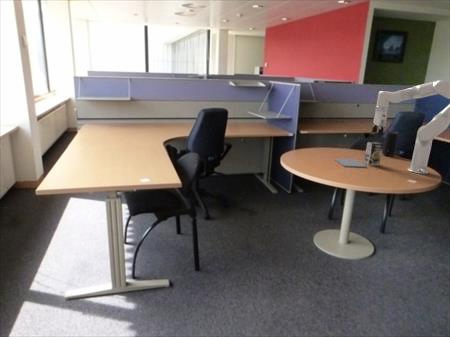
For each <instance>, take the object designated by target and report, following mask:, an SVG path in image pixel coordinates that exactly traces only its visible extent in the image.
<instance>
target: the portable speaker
mask: <svg viewBox="0 0 450 337" xmlns="http://www.w3.org/2000/svg"><path fill="white" fill-rule="evenodd" d="M398 135H399V132H398V131H395V132H394V131H389V130H388V131H387V133H386V135H385V138H384V143H383V149H382V155H383V156H384V157H385V156H388V157H390V158H392V157H394V155H395V153H396V150H397V149H396V148H397V144H398Z"/></svg>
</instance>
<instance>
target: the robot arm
mask: <svg viewBox="0 0 450 337" xmlns="http://www.w3.org/2000/svg"><path fill="white" fill-rule="evenodd" d="M435 95H440V96H442V97H444V98H446V99H448V100H450V82H449V81H448V80H446V79H438V80H434V81H430V82H426V83H422V84H418V85H415V86H412V87H409V88H406V89H401V90H396V91H386V90H385V91H384V90H380V91H378V94H377V99H376V100H377V101H376V105H375V113H374V117H373V120H372V121H373V122H372V124H373V125H372V129H371V130H372V131H371V133H377V131H378V133H377V135H378V136H383V134H384V130H385V128H386V125H387V119H388V117H387V116H388V110H389V103H391V104H399V103H400V102H403V101H407V100H414V99H423V98H426V97H430V96H431V97H432V96H435ZM449 126H450V103H449V104H448V105H447V106H445V107H444V108H443V110H441V111H440V112H439V113H437V114H436V115H434V116H433V117H432V120H431V121H430V122H428V123H426V125H422V126H420V127H419V128H418V130H417V133H416V138H415V144H414V148H413V153H412V159H411V163H410V166H409V167H407V168H406V169H407V171H409V172H411V173H413V174H422V175H426V174H428V173H429V169H428V163H429V158H430V153H431V150H432V143H433V140H434V139H436V138H437V137H438V136H439V135H440V134H441V133H443V132H444V131H445V130H446V129H447V128H448V127H449ZM378 127H379V129H378Z"/></svg>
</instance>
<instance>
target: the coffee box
mask: <svg viewBox="0 0 450 337" xmlns="http://www.w3.org/2000/svg"><path fill="white" fill-rule="evenodd" d="M383 150H384V143H383V142H377V141H368V142H367V143H366V148H365V155H364V160H363V164H364V165H365V166H368V167H369V166H372V167H373V166H375V167H376V166H380V165H381V164H380V163H381V159H382V155H383Z"/></svg>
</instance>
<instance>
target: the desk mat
mask: <svg viewBox="0 0 450 337" xmlns="http://www.w3.org/2000/svg"><path fill="white" fill-rule="evenodd" d="M333 159H334V161H335V162H336V163H338V164H339V165H341V166H342V167H344V168H360V169H361V168H363V169H366V168H368V165H366V164H364V163H363V162H361V161H359V160H357V159H356V158H338V157H337V158H333Z"/></svg>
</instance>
